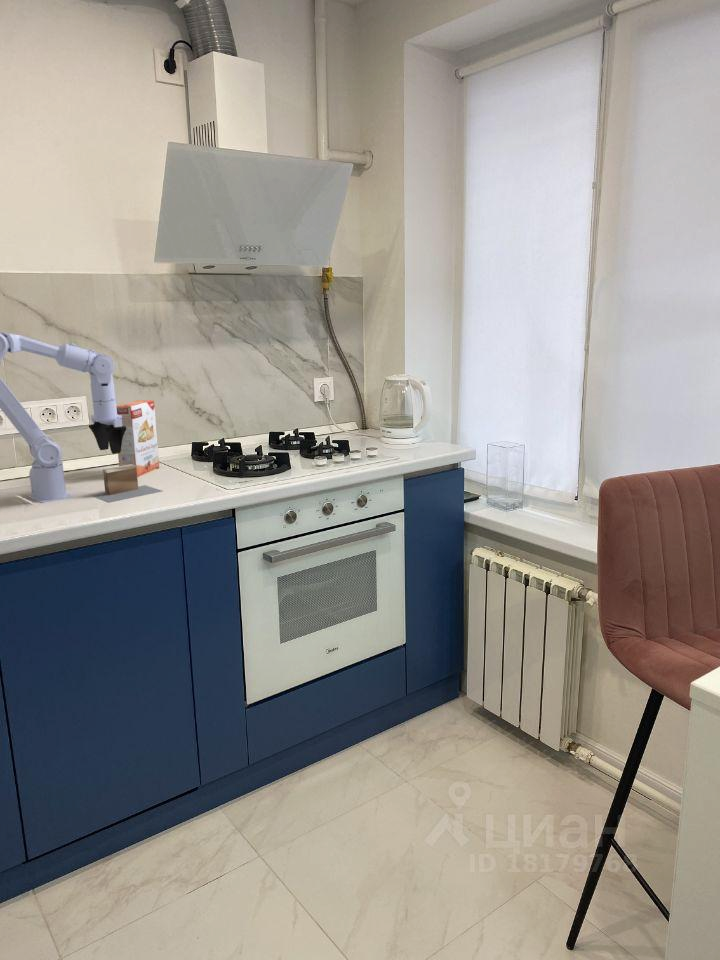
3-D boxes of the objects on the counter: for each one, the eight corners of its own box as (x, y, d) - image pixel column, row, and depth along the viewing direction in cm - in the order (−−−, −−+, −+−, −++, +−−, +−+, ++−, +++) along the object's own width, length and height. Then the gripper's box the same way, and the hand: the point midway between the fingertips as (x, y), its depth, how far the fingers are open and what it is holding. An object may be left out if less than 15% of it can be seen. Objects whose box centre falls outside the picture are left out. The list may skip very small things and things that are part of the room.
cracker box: (138, 478, 205) (131, 405, 200) (119, 478, 207) (111, 405, 202) (161, 468, 219) (154, 399, 214) (143, 467, 220) (136, 399, 215)
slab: (105, 493, 187) (102, 469, 186) (134, 487, 193) (131, 464, 191) (109, 495, 186) (107, 470, 184) (138, 489, 191) (136, 465, 189)
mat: (91, 497, 186) (91, 495, 185) (145, 486, 196) (145, 485, 195) (108, 504, 178) (108, 502, 178) (163, 492, 189) (163, 491, 188)
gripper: (131, 400, 185) (136, 452, 188) (107, 396, 196) (112, 445, 199) (104, 403, 181) (110, 456, 184) (81, 399, 191) (87, 449, 194)
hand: (110, 451), depth 191 cm, fingers open, 7 cm apart
